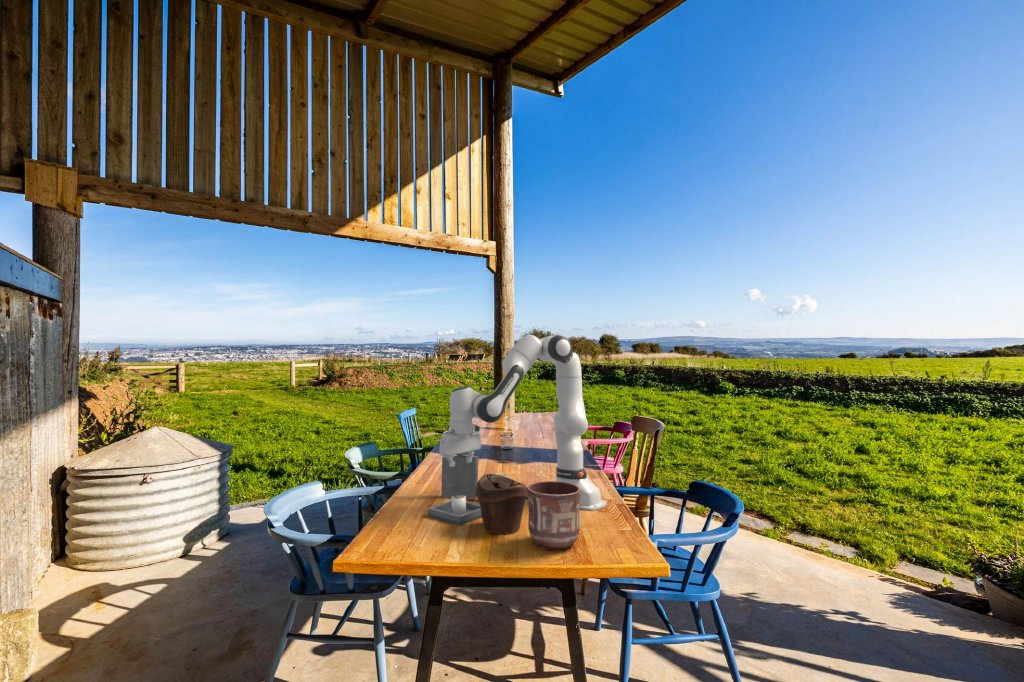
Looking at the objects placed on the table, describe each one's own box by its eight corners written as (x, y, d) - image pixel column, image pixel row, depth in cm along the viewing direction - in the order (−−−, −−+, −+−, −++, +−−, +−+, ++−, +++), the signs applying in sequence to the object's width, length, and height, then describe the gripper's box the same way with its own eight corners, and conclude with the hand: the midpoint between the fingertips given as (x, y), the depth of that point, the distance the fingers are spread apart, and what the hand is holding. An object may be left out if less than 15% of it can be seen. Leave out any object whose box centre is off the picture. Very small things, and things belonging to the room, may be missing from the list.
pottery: (514, 543, 153) (515, 487, 154) (548, 530, 166) (549, 478, 167) (558, 559, 141) (559, 498, 142) (591, 543, 154) (591, 487, 155)
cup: (468, 512, 183) (469, 496, 183) (458, 516, 179) (458, 499, 179) (458, 509, 186) (458, 493, 187) (448, 513, 182) (448, 496, 182)
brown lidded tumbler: (526, 539, 157) (526, 484, 158) (468, 535, 161) (468, 481, 162) (534, 523, 174) (534, 473, 176) (481, 520, 178) (482, 471, 180)
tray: (488, 514, 183) (488, 506, 184) (460, 525, 171) (460, 517, 171) (457, 506, 194) (457, 499, 194) (427, 516, 181) (427, 508, 181)
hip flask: (441, 498, 207) (441, 451, 208) (441, 495, 211) (442, 450, 212) (477, 497, 208) (478, 451, 209) (477, 495, 212) (478, 449, 213)
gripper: (447, 432, 175) (447, 470, 174) (483, 426, 191) (483, 461, 190) (435, 430, 179) (435, 467, 178) (472, 425, 195) (472, 459, 194)
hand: (460, 464), depth 184 cm, fingers open, 8 cm apart
